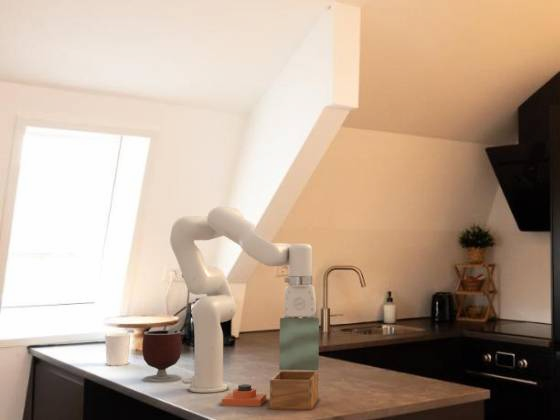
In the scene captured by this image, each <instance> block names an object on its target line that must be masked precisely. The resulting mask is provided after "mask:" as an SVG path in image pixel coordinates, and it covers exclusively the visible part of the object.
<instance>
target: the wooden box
mask: <svg viewBox="0 0 560 420" xmlns="http://www.w3.org/2000/svg"><path fill="white" fill-rule="evenodd" d="M318 401H319V370H279V371H278V372H277V373H276V374H275V375H274V376H273V377H272V378H270V379H269V410H295V411H296V410H298V411H299V410H300V411H302V410H303V411H304V410H305V411H306V410H307V411H312V410H313V408H314V406H315V405H316V403H317V402H318Z"/></svg>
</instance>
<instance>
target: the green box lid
mask: <svg viewBox="0 0 560 420" xmlns="http://www.w3.org/2000/svg"><path fill="white" fill-rule="evenodd" d="M319 347H320V317H317V318H308V317H307V318H303V317H299V318H284V317H280V318H279V361H278V365H279V366H278V367H279V368H278V370H279V371H319V369H320V368H319V367H320V366H319V365H320V364H319V363H320V361H319V360H320V359H319V357H320V355H319V353H320V352H319V351H320V350H319V349H320V348H319Z"/></svg>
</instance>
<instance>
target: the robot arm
mask: <svg viewBox="0 0 560 420" xmlns="http://www.w3.org/2000/svg"><path fill="white" fill-rule="evenodd" d="M256 230H257V228H256V225H255V224H254V223H252V222H251V221H249V220H247V219H246V218H245V217H244V214H243V213H242V211H241V210H240V209H238V208H236V207H230V206H216V207H214V208H212V209H210V211H209V212H208V213H207V216H202V215H201V216H200V215H199V216H198V215H185V216H182V217H179V218H178V219H176V221H174V223H173V224H172V225H171V228H170V231H169V244H170V247H171V249H172V252H173V254H174V256H175V258H176V261H177V263H178V267H179V270H180V272H181V275H182V278H183V281H184V283H185V286H186V288H187V291H188V292H189V293H191V294H192V295H194V296H195V295H196V296H199V295H206V296H203V297H200V298H198V299H197V300H196V301H195V302H194V304H193V305H192V308H191V317H192V322H193V330H194V333H193V334H194V362H193V363H194V364H193V366H194V367H193V368H194V369H193V370H194V371H193V374H194V375H193V376H191V377H188V376H183V377H182V379H181V382H182V384H188V385H189V384H190V386H189V392H191V393H192V392H193V393H201V394H202V393H203V394H204V393H205V394H206V393H219V392H223V391H226V390H228V384H226V383H224V332H223V329H222V325H221V323H224V322H228V321H230V320H232V319H233V318H234V317H235V315H236V313H237V305H236V300H235V298H234V297H235V296H234V295H233V291H232V289H231V287H230V284H229V282H228V278H227V276H226V275H225V273H224V272H223V270H222V269H220V268H219V267H216V266H208V265H207V264H206V262H205V260H204V255H203V253H202V251H201V250H200V249H199V247H198V246H197V245H196V243H195V241H211V240H214V239H217V238H220V237H225V238H227V239H229V240H230V241H232V242H234V243H235V244H236V245H238V246H240V249H242V251H243V252H244V253H245V254H247V255H248V257H250V258H252V259H253V260H255V261H257V262H259V263H260V264H262V265H264V266H267V267H284V266H288V277H284V283H288V285H286V287H285V293H284V303H283V307H284V308H283V318H318V316H317V295H316V288H315V285H313V246H312V245H311V244H310V243H286V242H271V241H269V240H267V239H266V238H263V236H261V235H259V234H257V233H256V232H257V231H256Z"/></svg>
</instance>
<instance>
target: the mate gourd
mask: <svg viewBox="0 0 560 420" xmlns="http://www.w3.org/2000/svg"><path fill="white" fill-rule="evenodd" d="M181 324H182V323H181V322H180V321H179V322H177V323H176V324H173V325H172V326H171V327H170V328H169V329H161V330H160V329H159V330H148V331H143V337H142V343H141V345H142V346H141V347H142V348H141V351H142V357H143V360H144V362H145V363H146V364H147V366H149V367H152V368H154V369H156V370H157V372H156V374H152V375H147V376H144V377H143V381H144V382H147V383H167V382H174V381H175V382H176V381H177V380H180V376H179V375H177V374H169V373H168V372H167V369H169V368H170V367H172V366H174V365H176V364H177V363H178V361H179V360H180V357H181V356H182V355H181V354H182V350H183V349H182V348H183V347H182V346H183V342H182V336H181V335H182V334H181V331H180V330H177V328H178V326H179V325H181Z"/></svg>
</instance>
